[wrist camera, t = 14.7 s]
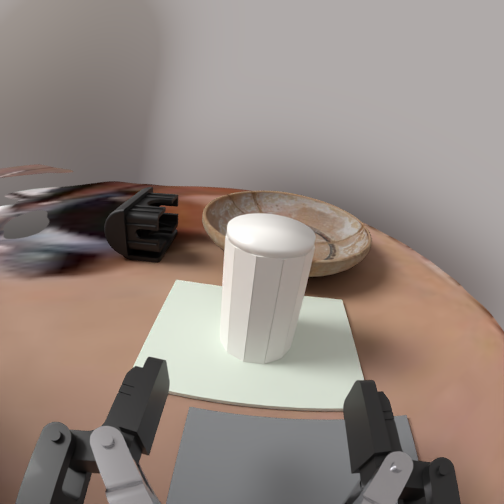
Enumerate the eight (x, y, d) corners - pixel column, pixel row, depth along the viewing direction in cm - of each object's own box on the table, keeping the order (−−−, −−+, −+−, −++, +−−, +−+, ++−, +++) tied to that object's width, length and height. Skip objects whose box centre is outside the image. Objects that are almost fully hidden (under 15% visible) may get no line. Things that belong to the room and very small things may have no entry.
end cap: (135, 227, 43) (133, 185, 39) (178, 232, 43) (179, 188, 40) (107, 259, 34) (101, 208, 31) (158, 265, 34) (155, 212, 31)
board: (127, 383, 18) (126, 380, 18) (176, 282, 31) (176, 279, 31) (368, 410, 18) (370, 407, 18) (341, 302, 31) (341, 299, 30)
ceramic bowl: (167, 265, 34) (166, 227, 32) (238, 208, 54) (240, 183, 52) (363, 318, 29) (378, 278, 26) (362, 236, 49) (369, 210, 46)
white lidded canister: (215, 358, 22) (220, 243, 17) (225, 311, 27) (233, 209, 22) (291, 366, 22) (321, 255, 17) (289, 318, 27) (310, 219, 22)
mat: (153, 566, 7) (152, 566, 7) (189, 409, 18) (189, 406, 17) (430, 551, 7) (433, 550, 6) (404, 417, 17) (406, 415, 17)
